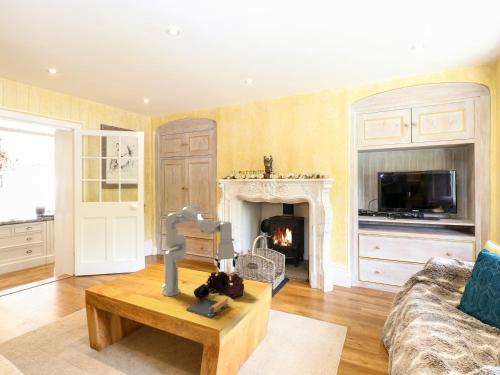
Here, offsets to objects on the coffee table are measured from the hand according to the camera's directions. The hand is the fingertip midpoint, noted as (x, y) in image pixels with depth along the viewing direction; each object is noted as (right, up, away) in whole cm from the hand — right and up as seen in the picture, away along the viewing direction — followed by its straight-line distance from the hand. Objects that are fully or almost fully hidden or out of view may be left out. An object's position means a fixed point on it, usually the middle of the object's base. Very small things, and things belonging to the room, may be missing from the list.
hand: (226, 267), depth 166 cm
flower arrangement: (-3, -26, +25) cm, 37 cm away
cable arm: (-5, -25, -3) cm, 26 cm away
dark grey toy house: (-19, -26, +19) cm, 37 cm away
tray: (-12, -27, +1) cm, 29 cm away
